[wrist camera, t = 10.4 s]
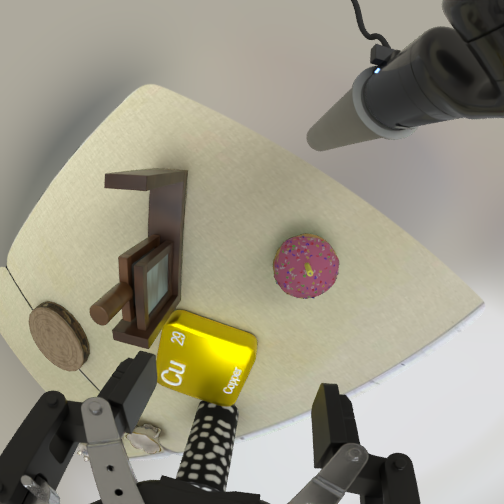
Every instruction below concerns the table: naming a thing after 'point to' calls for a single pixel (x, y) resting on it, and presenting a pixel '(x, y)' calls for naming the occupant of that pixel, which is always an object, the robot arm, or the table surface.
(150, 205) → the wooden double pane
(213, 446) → the spotted tube
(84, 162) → the table surface
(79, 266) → the table surface
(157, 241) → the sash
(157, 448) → the chinaware
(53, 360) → the brown flat banded disc
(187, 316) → the element tile
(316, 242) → the cupcake
